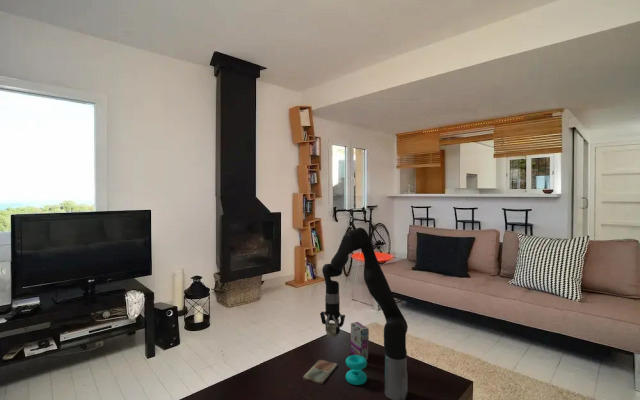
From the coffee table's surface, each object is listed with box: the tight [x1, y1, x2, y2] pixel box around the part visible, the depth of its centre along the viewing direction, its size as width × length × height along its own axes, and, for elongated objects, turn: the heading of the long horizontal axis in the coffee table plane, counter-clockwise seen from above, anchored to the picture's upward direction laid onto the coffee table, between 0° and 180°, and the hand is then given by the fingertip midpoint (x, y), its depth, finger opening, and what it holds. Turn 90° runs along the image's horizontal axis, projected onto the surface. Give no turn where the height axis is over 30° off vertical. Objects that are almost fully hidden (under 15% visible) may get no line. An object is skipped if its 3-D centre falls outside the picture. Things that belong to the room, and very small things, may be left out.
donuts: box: [345, 354, 368, 386], centre depth 149 cm, size 10×10×10 cm
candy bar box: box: [350, 321, 370, 360], centre depth 173 cm, size 11×5×16 cm, turn 25°
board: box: [302, 359, 338, 385], centre depth 156 cm, size 10×18×1 cm, turn 155°
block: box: [325, 322, 338, 338], centre depth 169 cm, size 5×5×5 cm
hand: (332, 332), depth 169 cm, fingers closed on block, 5 cm apart
